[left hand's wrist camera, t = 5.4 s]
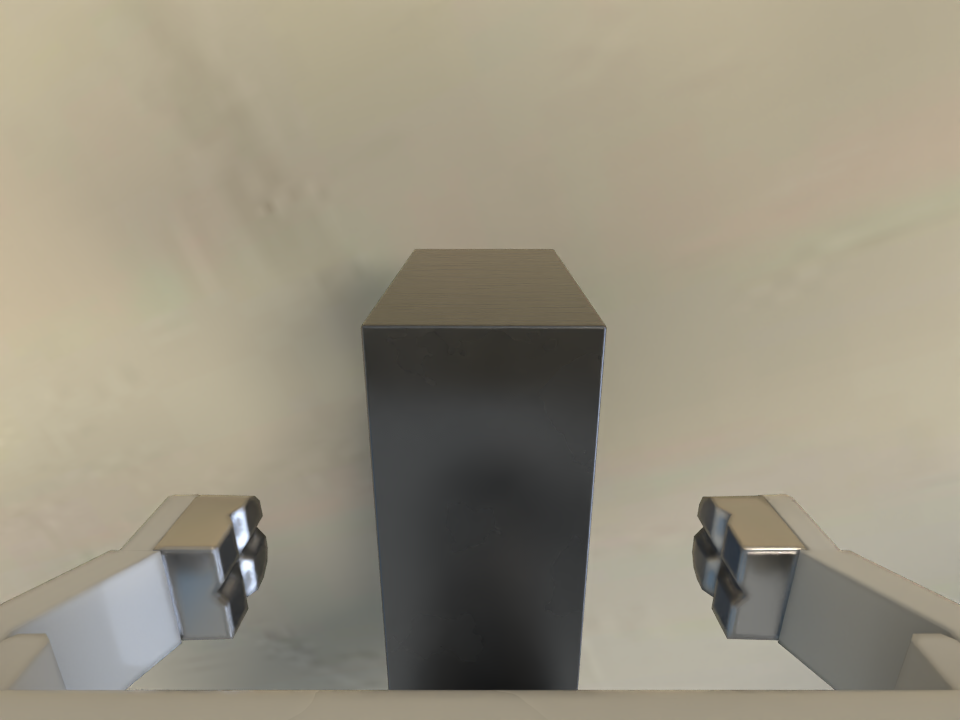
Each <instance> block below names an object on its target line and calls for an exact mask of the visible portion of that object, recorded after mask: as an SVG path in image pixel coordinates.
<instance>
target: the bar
mask: <svg viewBox="0 0 960 720" xmlns="http://www.w3.org/2000/svg"><path fill="white" fill-rule="evenodd" d="M361 335H362V348H363V361H364V374H365V387H366V400H367V413H368V426H369V439H370V452H371V465H372V478H373V491H374V504H375V517H376V530H377V543H378V557H379V570H380V583H381V596H382V609H383V622H384V635H385V648H386V661H387V674H388V687H389V690H578V680H579V668H580V655H581V643H582V630H583V617H584V605H585V592H586V580H587V567H588V554H589V542H590V529H591V517H592V504H593V491H594V479H595V466H596V454H597V441H598V429H599V416H600V403H601V391H602V378H603V366H604V353H605V340H606V326H605V324H604V323H603V321H602V320H601V318H600V317H599V315H598V314H597V312H596V311H595V309H594V308H593V306H592V305H591V304H590V302H589V301H588V299H587V298H586V296H585V295H584V293H583V292H582V290H581V289H580V287H579V286H578V284H577V283H576V282H575V280H574V279H573V277H572V276H571V274H570V273H569V271H568V270H567V268H566V267H565V265H564V264H563V262H562V261H561V260H560V258H559V257H558V255H557V254H556V252H555V251H554V250H553V249H415V250H414V251H413V253H412V254H411V256H410V257H409V258H408V260H407V261H406V263H405V264H404V266H403V267H402V268H401V270H400V271H399V273H398V274H397V276H396V277H395V279H394V280H393V281H392V283H391V284H390V286H389V287H388V289H387V290H386V291H385V293H384V294H383V296H382V297H381V299H380V300H379V301H378V303H377V304H376V306H375V307H374V309H373V310H372V312H371V313H370V314H369V316H368V317H367V319H366V320H365V322H364V323H363V324H362V326H361Z"/></svg>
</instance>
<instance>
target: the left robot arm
mask: <svg viewBox="0 0 960 720" xmlns="http://www.w3.org/2000/svg"><path fill="white" fill-rule="evenodd" d="M262 516H263V515H262V510H261V505H260V500H259V499H257V498H256V497H255V496H236V495H173V496H169V497H168V498H167V499H166V500H165V501H164V502H163V503H162V504H161V505H160V506H159V507H158V509H157V510H156V511H155V512H154V513H153V514H152V515H151V516H150V517H149V518H148V520H147V521H146V522H145V523H144V524H143V525H142V526H141V527H140V528H139V530H138V531H137V532H136V533H135V534H134V535H133V536H132V537H131V538H130V539H129V541H128V542H127V543H126V544H125V545H124V546H123V547H122V548H121V549H120V550H119V551H109V552H107V553H104V554H102V555H100V556H98V557H96V558H94V559H92V560H90V561H88V562H86V563H84V564H82V565H80V566H78V567H76V568H74V569H72V570H70V571H68V572H66V573H64V574H62V575H60V576H58V577H55V578H53V579H51V580H49V581H47V582H45V583H43V584H41V585H39V586H37V587H35V588H33V589H31V590H29V591H27V592H25V593H23V594H21V595H19V596H17V597H15V598H13V599H11V600H8V601H6V602H4V603H2V604H0V720H960V605H959V604H957V603H955V602H953V601H951V600H949V599H947V598H945V597H943V596H941V595H939V594H937V593H935V592H933V591H931V590H929V589H927V588H925V587H923V586H921V585H919V584H917V583H915V582H913V581H910V580H908V579H906V578H904V577H902V576H900V575H898V574H896V573H894V572H892V571H890V570H888V569H886V568H884V567H882V566H880V565H878V564H876V563H874V562H872V561H870V560H868V559H866V558H864V557H862V556H860V555H858V554H855V553H853V552H851V551H841V550H840V549H839V548H838V547H837V546H836V545H835V544H834V543H833V542H832V541H831V539H830V538H829V537H828V536H827V535H826V534H825V533H824V532H823V531H822V530H821V528H820V527H819V526H818V525H817V524H816V523H815V522H814V521H813V520H812V518H811V517H810V516H809V515H808V514H807V513H806V512H805V511H804V510H803V509H802V507H801V506H800V505H799V504H798V503H797V502H796V501H795V500H794V499H793V498H792V497H790V496H788V495H786V494H779V495H758V496H714V497H703V498H702V500H701V502H700V504H699V509H698V515H697V516H698V518H699V520H700V521H701V523H702V525H703V528H702V529H701V530H700V531H699V532H698V533H697V534H696V535H695V536H694V542H693V550H692V555H693V566H694V570H695V574H696V577H697V580H698V582H699V584H700V586H701V588H702V590H704V591H705V592H707V593H708V594H709V595H711V596H712V597H714V598H713V604H712V610H713V612H714V614H715V616H716V618H717V620H718V622H719V624H720V626H721V628H722V629H723V631H724V633H725V635H726V637H727V639H755V640H779V641H778V643H779V644H780V645H782V646H783V647H784V648H785V649H787V650H788V651H789V652H790V653H791V654H793V655H794V656H795V657H796V658H797V659H799V660H800V661H801V662H802V663H803V664H805V665H806V666H807V667H808V668H809V669H811V670H812V671H813V672H814V673H815V674H817V675H818V676H819V677H820V678H821V679H823V680H824V681H825V682H826V683H827V684H829V685H830V686H831V687H832V688H833V689H835V690H125V689H127V688H128V687H129V686H130V685H132V684H133V683H134V682H135V681H136V680H138V679H139V678H140V677H141V676H142V675H144V674H145V673H146V672H147V671H148V670H150V669H151V668H152V667H153V666H154V665H156V664H157V663H158V662H159V661H160V660H162V659H163V658H164V657H165V656H167V655H168V654H169V653H170V652H171V651H173V650H174V649H175V648H176V647H177V646H179V645H180V644H181V643H182V641H181V640H204V639H233V637H234V635H235V633H236V632H237V630H238V628H239V626H240V624H241V622H242V620H243V618H244V616H245V614H246V612H247V610H248V604H247V598H246V597H248V596H249V595H251V594H252V593H253V592H255V591H256V590H258V588H259V586H260V584H261V582H262V580H263V578H264V574H265V569H266V565H267V549H268V548H267V541H266V536H265V535H264V534H263V533H262V532H261V531H260V530H259V529H258V528H257V525H258V523H259V521H260V520H261V518H262Z"/></svg>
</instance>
